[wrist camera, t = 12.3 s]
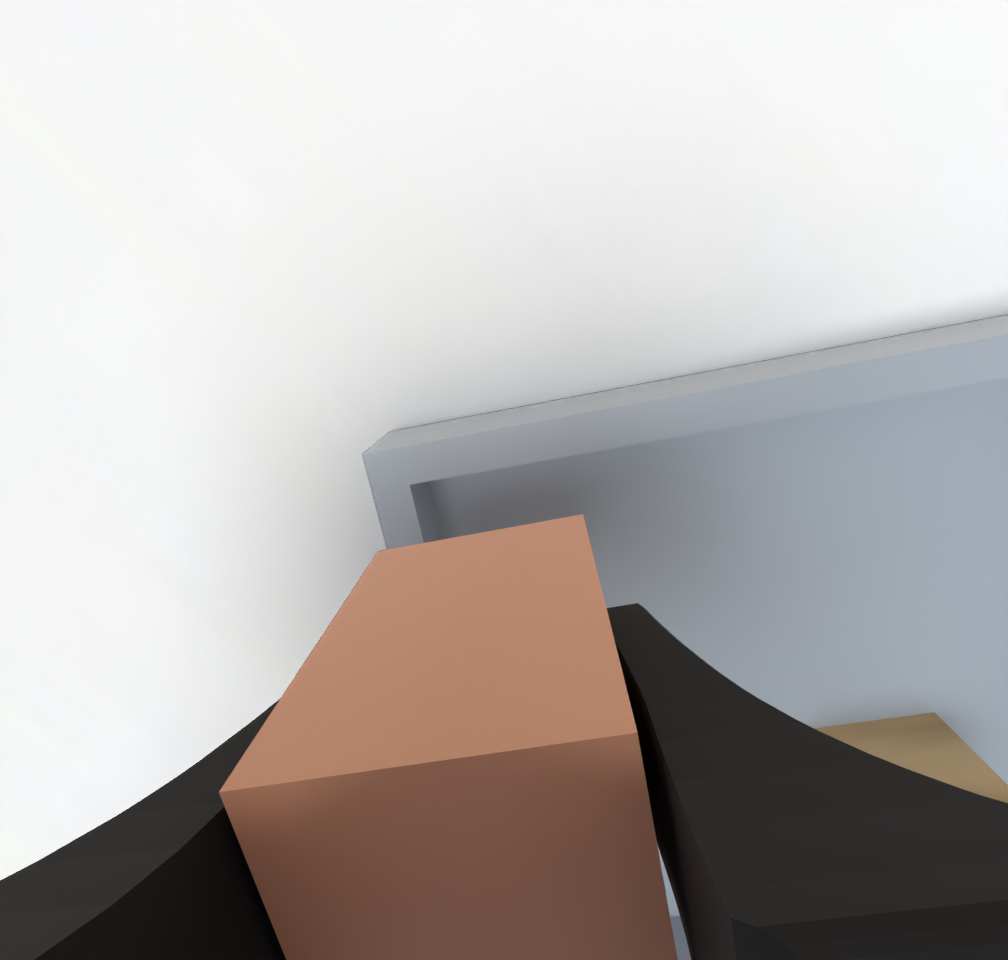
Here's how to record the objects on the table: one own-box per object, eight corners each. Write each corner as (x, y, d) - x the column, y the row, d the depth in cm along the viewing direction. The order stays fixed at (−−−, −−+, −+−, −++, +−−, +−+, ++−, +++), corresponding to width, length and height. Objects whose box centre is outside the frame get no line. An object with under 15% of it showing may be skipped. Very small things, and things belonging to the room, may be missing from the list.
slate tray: (1069, 875, 21) (1155, 965, 18) (515, 931, 23) (512, 1020, 20) (1108, 295, 16) (1236, 291, 13) (389, 431, 18) (362, 454, 15)
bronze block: (936, 814, 20) (1104, 1023, 14) (811, 828, 20) (924, 1038, 14) (934, 712, 19) (1116, 892, 13) (803, 729, 19) (921, 911, 13)
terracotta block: (616, 697, 12) (693, 1048, 6) (427, 725, 12) (335, 1081, 7) (582, 513, 11) (636, 732, 5) (378, 551, 11) (219, 793, 6)
